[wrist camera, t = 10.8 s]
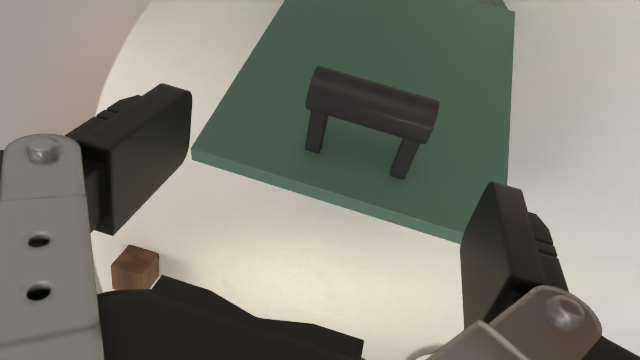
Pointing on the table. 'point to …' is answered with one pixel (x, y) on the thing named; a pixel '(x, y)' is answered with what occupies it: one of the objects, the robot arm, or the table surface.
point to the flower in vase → (424, 357)
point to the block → (134, 269)
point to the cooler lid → (374, 108)
